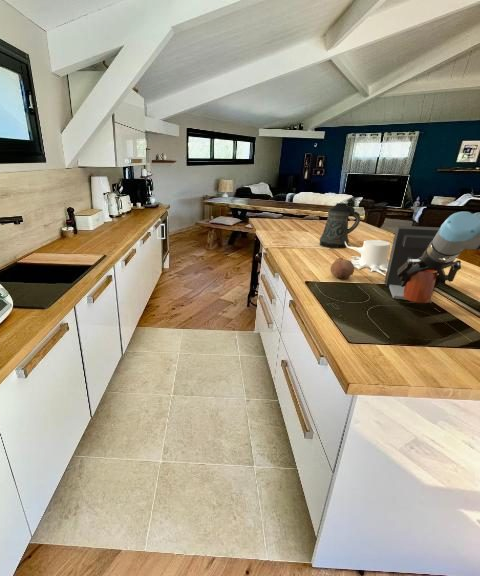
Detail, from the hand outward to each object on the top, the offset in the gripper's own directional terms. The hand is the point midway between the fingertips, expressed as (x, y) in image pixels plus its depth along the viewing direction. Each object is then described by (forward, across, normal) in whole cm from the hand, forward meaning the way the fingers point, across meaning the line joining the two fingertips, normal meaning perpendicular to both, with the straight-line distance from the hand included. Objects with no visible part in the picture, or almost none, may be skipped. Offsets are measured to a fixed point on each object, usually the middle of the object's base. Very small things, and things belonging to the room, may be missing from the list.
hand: (417, 284), depth 111 cm
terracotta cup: (0, 0, -5) cm, 5 cm away
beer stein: (+62, -27, +52) cm, 85 cm away
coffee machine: (+12, 0, +3) cm, 13 cm away
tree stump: (+36, -10, +27) cm, 46 cm away
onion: (+18, -24, +8) cm, 31 cm away
